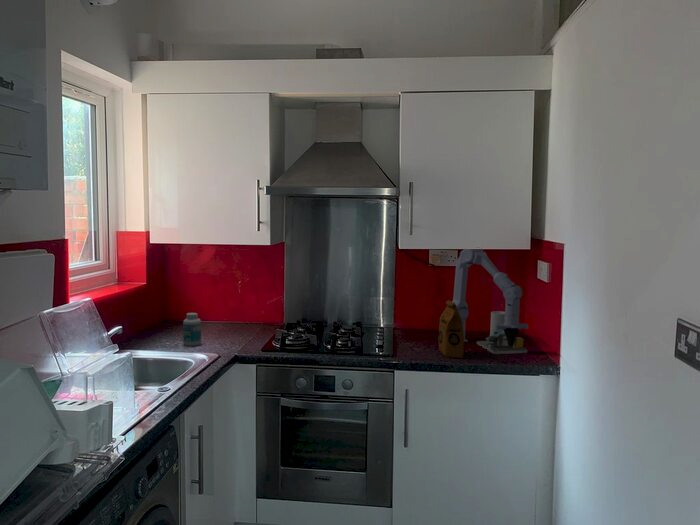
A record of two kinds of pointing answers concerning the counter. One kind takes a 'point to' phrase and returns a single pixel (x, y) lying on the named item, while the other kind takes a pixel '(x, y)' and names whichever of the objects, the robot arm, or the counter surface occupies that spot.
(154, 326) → the counter surface
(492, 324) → the mug
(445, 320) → the coffee package
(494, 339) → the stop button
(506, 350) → the panel
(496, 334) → the teal tile with stripe
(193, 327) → the pill bottle
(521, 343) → the slider knob
